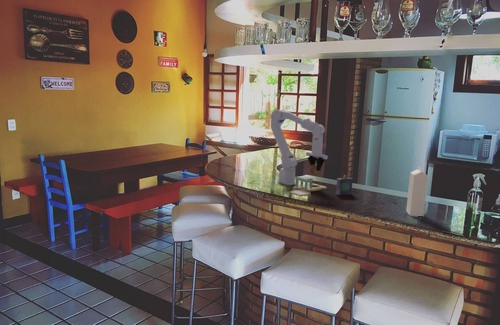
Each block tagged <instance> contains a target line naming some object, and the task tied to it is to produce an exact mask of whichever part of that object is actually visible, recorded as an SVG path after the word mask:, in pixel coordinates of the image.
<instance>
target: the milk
mask: <svg viewBox="0 0 500 325" xmlns="http://www.w3.org/2000/svg"><path fill="white" fill-rule="evenodd" d="M409 174H410V175H409V182H408V192H407V201H406V210H405V212H407V213H408V214H409V215H410V216H409V217H418V216H423V217H424V215H425V208H426V207H425V206H426V199H427V198H426V197H427V189H428V181H429V175H428V174H427V173H425V172H423V168H422V167H421V166H417V169H415V170H413V171H410V173H409ZM407 213H406V214H407ZM408 214H407V215H408Z"/></svg>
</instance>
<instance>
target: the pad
mask: <svg viewBox="0 0 500 325" xmlns="http://www.w3.org/2000/svg"><path fill="white" fill-rule="evenodd" d="M289 193H290V194H292V195H295V196H300V197H302V196H308V195H311V194H312V193H311V192H306V191H303V190H297V189H295V190H290V191H289Z"/></svg>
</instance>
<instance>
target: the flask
mask: <svg viewBox="0 0 500 325" xmlns="http://www.w3.org/2000/svg"><path fill="white" fill-rule="evenodd" d="M353 180H354V179H353V178H352V177H349V176H346V174H343V176H342V177H341V178H340V177H339V178H337V179H336V189H335V196H340V197H341V196H351V195H352V190H353Z"/></svg>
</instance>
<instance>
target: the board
mask: <svg viewBox="0 0 500 325" xmlns="http://www.w3.org/2000/svg"><path fill="white" fill-rule="evenodd" d="M292 187H293V188H294V190H303V191H306V192H309V193H311V192H314V191H321V190H326V189H327V186H325V185H320V184H318V183H317V184H316V183H312V188H310V183H308V184H307V189H305V184H303V186H300V185H298V187H296V186H292ZM293 188H292V189H293Z"/></svg>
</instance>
